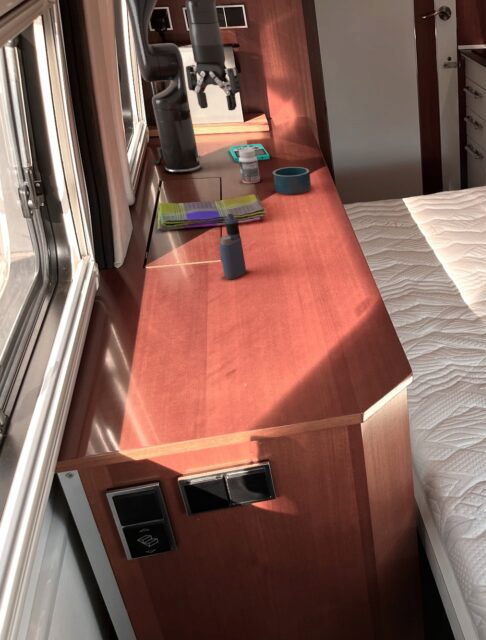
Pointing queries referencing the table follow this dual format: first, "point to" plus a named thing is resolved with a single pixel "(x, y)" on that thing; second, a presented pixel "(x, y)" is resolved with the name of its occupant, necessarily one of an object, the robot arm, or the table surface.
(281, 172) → the bowl
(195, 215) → the dish towel
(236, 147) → the handheld game console
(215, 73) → the robot arm
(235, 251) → the vaping device
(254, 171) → the pill bottle
